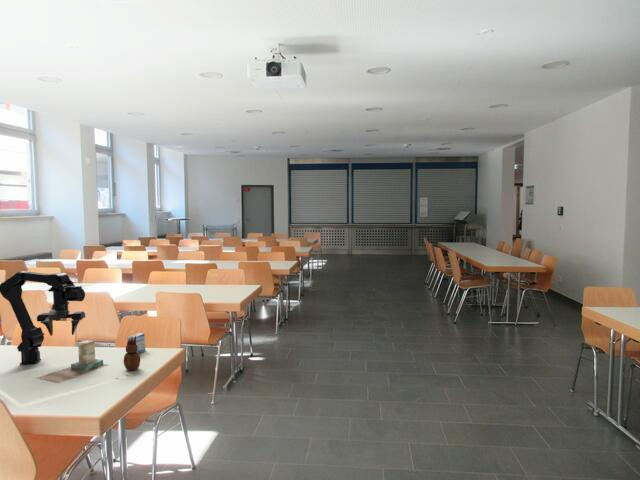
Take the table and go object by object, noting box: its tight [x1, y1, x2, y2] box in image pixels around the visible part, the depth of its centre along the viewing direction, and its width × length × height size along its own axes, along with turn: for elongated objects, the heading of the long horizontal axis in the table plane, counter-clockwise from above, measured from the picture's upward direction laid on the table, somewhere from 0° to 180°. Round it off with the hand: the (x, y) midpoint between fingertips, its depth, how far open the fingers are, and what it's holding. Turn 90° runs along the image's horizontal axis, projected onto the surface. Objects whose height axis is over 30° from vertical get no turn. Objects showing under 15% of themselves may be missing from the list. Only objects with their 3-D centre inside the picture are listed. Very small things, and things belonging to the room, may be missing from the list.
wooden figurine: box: [123, 334, 141, 372], centre depth 203 cm, size 7×6×15 cm
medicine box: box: [127, 332, 146, 354], centre depth 228 cm, size 8×4×9 cm, turn 168°
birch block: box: [77, 339, 96, 365], centre depth 204 cm, size 4×4×11 cm
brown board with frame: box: [36, 358, 109, 384], centre depth 199 cm, size 24×14×3 cm, turn 154°
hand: (62, 335), depth 212 cm, fingers open, 9 cm apart
